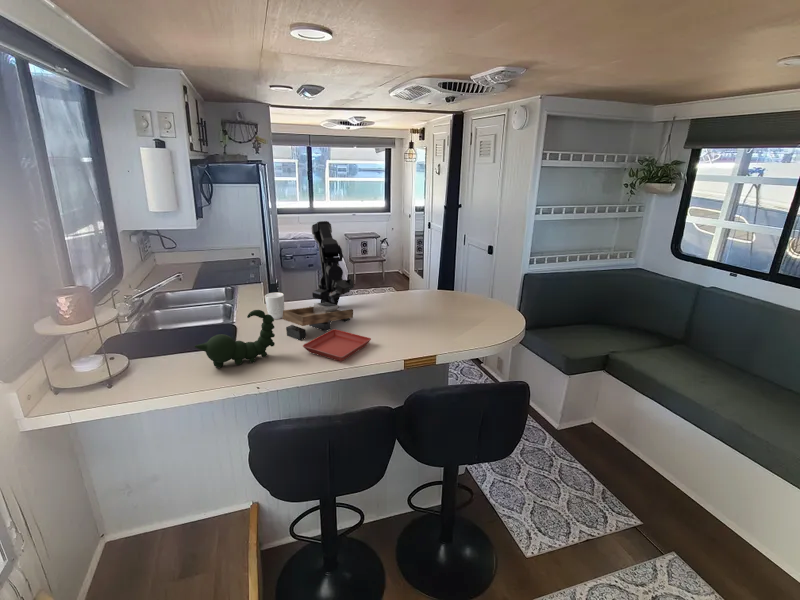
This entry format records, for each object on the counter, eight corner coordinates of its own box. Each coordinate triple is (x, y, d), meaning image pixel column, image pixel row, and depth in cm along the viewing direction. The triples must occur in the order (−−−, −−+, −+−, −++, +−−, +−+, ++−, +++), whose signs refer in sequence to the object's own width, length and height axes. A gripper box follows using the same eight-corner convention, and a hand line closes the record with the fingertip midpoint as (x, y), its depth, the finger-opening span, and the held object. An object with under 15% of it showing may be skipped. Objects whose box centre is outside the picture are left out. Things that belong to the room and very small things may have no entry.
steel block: (325, 311, 179) (326, 301, 178) (337, 314, 175) (338, 305, 174) (313, 313, 173) (313, 303, 172) (325, 316, 169) (325, 306, 168)
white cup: (281, 320, 181) (278, 298, 178) (264, 319, 182) (261, 297, 179) (288, 313, 188) (286, 292, 185) (272, 313, 190) (269, 292, 186)
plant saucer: (372, 345, 156) (372, 337, 155) (342, 365, 141) (341, 356, 140) (334, 336, 165) (333, 328, 164) (302, 354, 150) (301, 345, 149)
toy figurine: (271, 354, 153) (195, 364, 142) (270, 304, 148) (191, 310, 137) (277, 364, 146) (197, 376, 134) (276, 312, 140) (193, 319, 129)
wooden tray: (332, 312, 186) (333, 303, 185) (353, 319, 178) (354, 309, 178) (281, 320, 165) (282, 309, 164) (303, 327, 157) (303, 316, 156)
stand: (335, 315, 186) (335, 307, 185) (351, 320, 180) (351, 312, 179) (285, 334, 166) (284, 326, 165) (301, 341, 160) (300, 332, 159)
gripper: (329, 282, 161) (332, 319, 166) (361, 270, 175) (364, 305, 180) (309, 277, 167) (313, 314, 173) (342, 266, 181) (345, 300, 187)
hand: (335, 308), depth 178 cm, fingers closed
